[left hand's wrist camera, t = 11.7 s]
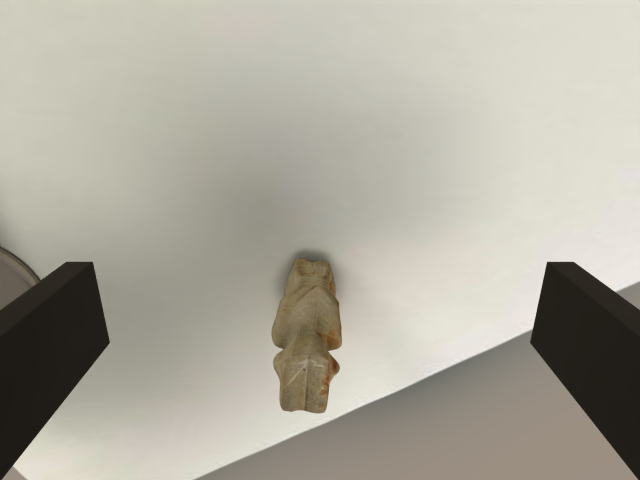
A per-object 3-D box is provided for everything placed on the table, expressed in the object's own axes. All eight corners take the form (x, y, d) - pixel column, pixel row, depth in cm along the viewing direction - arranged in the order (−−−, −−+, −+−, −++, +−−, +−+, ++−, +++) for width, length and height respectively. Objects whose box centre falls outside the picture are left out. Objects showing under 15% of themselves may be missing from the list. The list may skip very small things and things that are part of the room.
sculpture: (277, 309, 44) (257, 417, 30) (286, 246, 42) (269, 332, 28) (331, 317, 45) (337, 427, 31) (344, 255, 42) (356, 344, 28)
